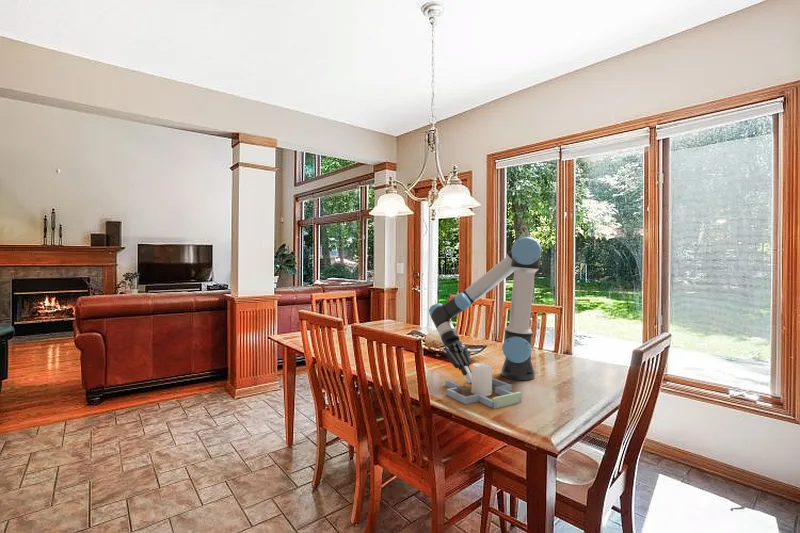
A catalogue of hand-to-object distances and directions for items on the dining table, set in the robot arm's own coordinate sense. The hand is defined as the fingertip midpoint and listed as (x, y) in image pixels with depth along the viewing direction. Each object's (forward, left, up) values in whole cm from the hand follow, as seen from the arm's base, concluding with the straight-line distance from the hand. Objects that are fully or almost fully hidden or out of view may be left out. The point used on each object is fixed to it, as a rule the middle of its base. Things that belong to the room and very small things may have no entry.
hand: (471, 381), depth 164 cm
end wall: (-15, +13, -4) cm, 20 cm away
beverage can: (-4, +3, -4) cm, 7 cm away
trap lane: (-4, +2, -4) cm, 6 cm away
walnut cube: (+2, +9, -4) cm, 10 cm away
